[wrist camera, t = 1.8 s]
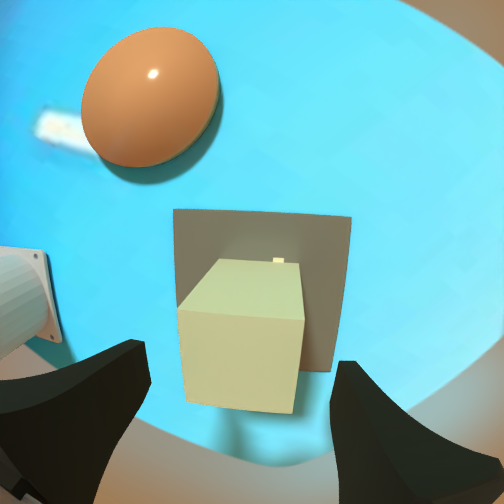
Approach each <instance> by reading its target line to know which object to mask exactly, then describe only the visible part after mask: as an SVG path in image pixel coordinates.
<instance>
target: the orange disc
mask: <svg viewBox="0 0 504 504" xmlns="http://www.w3.org/2000/svg"><path fill="white" fill-rule="evenodd" d="M219 92H220V79H219V73H218V69H217V66H216V63H215V61H214V59H213V57H212V56H211V54H210V53H209V51H208V50H207V48H206V47H205V46H204V45H203V43H202V42H201V41H200V40H198V39H197V38H196V37H195V36H193V35H192V34H190V33H188V32H186V31H183V30H180V29H177V28H171V27H155V28H149V29H145V30H141V31H139V32H136V33H134V34H131V35H129V36H128V37H126V38H124V39H122V40H121V41H119V42H118V43H117V44H115V45H114V46H113V47H112V48H111V49H109V50H108V51H107V52H106V54H105V55H104V56H103V57H102V58H101V59H100V61H99V62H98V63H97V65H96V66H95V68H94V69H93V71H92V73H91V75H90V77H89V79H88V81H87V84H86V86H85V89H84V93H83V97H82V104H81V119H82V125H83V129H84V132H85V135H86V138H87V140H88V142H89V143H90V145H91V146H92V148H93V149H94V150H95V151H96V152H97V153H98V154H99V155H100V156H101V157H103V158H104V159H105V160H107V161H109V162H111V163H114V164H117V165H120V166H126V167H150V166H155V165H159V164H163V163H165V162H167V161H170V160H172V159H174V158H176V157H177V156H179V155H181V154H182V153H183V152H185V151H186V150H187V149H189V148H190V147H191V146H192V145H193V144H194V143H195V142H196V141H197V140H198V139H199V137H200V136H201V135H202V134H203V132H204V131H205V130H206V128H207V127H208V125H209V123H210V121H211V119H212V117H213V115H214V112H215V110H216V107H217V103H218V99H219Z"/></svg>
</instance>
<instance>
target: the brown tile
mask: <svg viewBox="0 0 504 504" xmlns="http://www.w3.org/2000/svg"><path fill="white" fill-rule="evenodd" d="M351 219H352V217H345V216H331V215H316V214H300V213H281V212H261V211H236V210H204V209H173V229H174V262H175V284H176V301H177V308H178V307H179V306H180V305H181V303H182V302H183V301H184V300H185V299H186V297H187V296H188V295H189V294H190V293H191V291H192V290H193V289H194V288H195V287H196V285H197V284H198V283H199V282H200V281H201V280H202V278H203V277H204V276H205V275H206V274H207V272H208V271H209V270H210V269H211V268H212V267H213V265H214V264H215V263H216V262H217V261H218V259H234V260H250V261H267V262H284V263H299V269H300V278H301V287H302V297H303V306H304V317H305V322H304V331H303V340H302V348H301V356H300V363H299V370H300V371H330V370H331V365H332V360H333V355H334V349H335V344H336V338H337V332H338V326H339V320H340V314H341V307H342V300H343V293H344V286H345V278H346V270H347V261H348V252H349V242H350V231H351Z"/></svg>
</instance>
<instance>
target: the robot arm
mask: <svg viewBox="0 0 504 504" xmlns="http://www.w3.org/2000/svg"><path fill="white" fill-rule="evenodd" d="M37 256H38V257H37ZM33 336H37V337H40V338H43V339H46V340H49V341H52V342H55V343H60V342H62V335H61V331H60V327H59V323H58V318H57V314H56V309H55V304H54V299H53V294H52V289H51V283H50V277H49V271H48V264H47V256H46V253H45V252H44V250H40V249H29V248H18V247H7V246H0V360H2V359H3V358H4V357H6V356H7V355H9V354H10V353H11V352H13V351H14V350H15V349H17V348H18V347H19V346H21V345H22V344H24V343H25V342H26V341H28V340H29V339H31V338H32V337H33ZM150 385H151V378H150V372H149V367H148V361H147V355H146V349H145V342H144V341H139V340H133V339H129V340H127V341H124V342H122V343H120V344H117V345H115V346H113V347H111V348H109V349H107V350H104V351H102V352H100V353H98V354H96V355H94V356H92V357H89V358H87V359H85V360H82V361H80V362H77V363H75V364H72V365H70V366H67V367H65V368H62V369H59V370H56V371H52V372H49V373H45V374H41V375H37V376H32V377H26V378H21V379H13V380H0V504H93V502H94V498H95V496H96V492H97V490H98V487H99V484H100V481H101V478H102V476H103V474H104V471H105V468H106V466H107V464H108V461H109V459H110V457H111V455H112V453H113V450H114V449H115V447H116V445H117V443H118V441H119V440H120V438H121V437H122V435H123V433H124V432H125V430H126V429H127V427H128V426H129V424H130V423H131V421H132V419H133V418H134V416H135V415H136V413H137V411H138V410H139V408H140V407H141V405H142V403H143V401H144V399H145V397H146V395H147V392H148V390H149V387H150ZM330 426H331V433H332V439H333V445H334V451H335V456H336V463H337V470H338V478H339V504H492V503H493V502H494V501H495V500H496V499H497V498H498V497H499V496H500V495H501V494H502V493H503V492H504V468H503V466H502V464H501V462H500V461H499V459H498V458H495V457H491V456H488V455H484V454H481V453H478V452H474V451H472V450H469V449H467V448H464V447H462V446H460V445H457V444H455V443H453V442H451V441H449V440H447V439H445V438H443V437H441V436H440V435H438V434H436V433H434V432H433V431H431V430H429V429H428V428H426V427H425V426H423V425H422V424H420V423H419V422H418V421H416V420H415V419H414V418H412V417H411V416H410V415H408V414H407V413H406V412H405V411H404V410H402V409H401V408H400V407H399V406H398V405H397V404H396V403H395V402H393V401H392V400H391V399H390V398H389V397H388V396H387V395H386V394H385V393H384V392H383V391H382V390H381V389H380V388H379V387H378V386H377V384H376V383H375V382H374V381H373V380H372V379H371V378H370V377H369V376H368V375H367V373H366V372H365V371H364V370H363V369H362V368H361V367H360V365H359V364H358V363H357V362H356V361H339V363H338V368H337V372H336V377H335V381H334V386H333V390H332V394H331V399H330Z"/></svg>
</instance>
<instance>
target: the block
mask: <svg viewBox="0 0 504 504" xmlns="http://www.w3.org/2000/svg"><path fill="white" fill-rule="evenodd" d="M177 320H178V333H179V344H180V354H181V364H182V373H183V381H184V390H185V397H186V402H190V403H196V404H202V405H209V406H215V407H223V408H230V409H239V410H248V411H259V412H271V413H287V414H292V411H293V405H294V398H295V392H296V385H297V378H298V371H299V363H300V356H301V348H302V340H303V331H304V322H305V317H304V306H303V297H302V287H301V278H300V269H299V263H284V262H267V261H250V260H234V259H218V261H217V262H216V263H215V264H214V265H213V267H212V268H211V269H210V270H209V271H208V272H207V274H206V275H205V276H204V277H203V278H202V280H201V281H200V282H199V283H198V284H197V285H196V287H195V288H194V289H193V290H192V291H191V293H190V294H189V295H188V296H187V297H186V299H185V300H184V301H183V302H182V303H181V305H180V306H179V307H178V308H177Z"/></svg>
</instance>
